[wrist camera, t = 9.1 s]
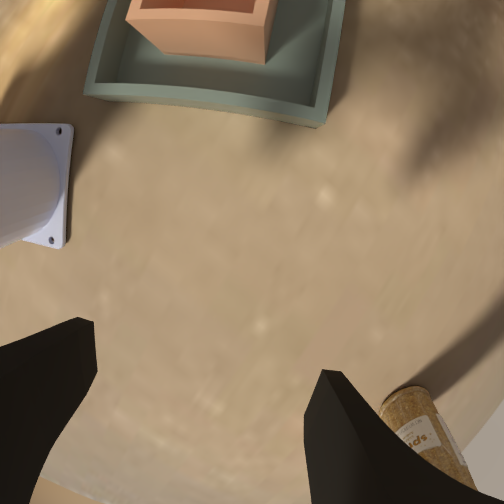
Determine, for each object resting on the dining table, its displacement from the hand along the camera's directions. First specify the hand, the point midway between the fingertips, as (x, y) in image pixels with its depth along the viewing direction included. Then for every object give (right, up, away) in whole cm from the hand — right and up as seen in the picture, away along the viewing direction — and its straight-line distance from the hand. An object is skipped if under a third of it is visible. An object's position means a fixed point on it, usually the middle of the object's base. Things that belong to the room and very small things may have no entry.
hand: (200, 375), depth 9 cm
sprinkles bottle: (+14, -8, +12) cm, 20 cm away
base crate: (0, +18, +5) cm, 19 cm away
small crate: (0, +18, +4) cm, 19 cm away
